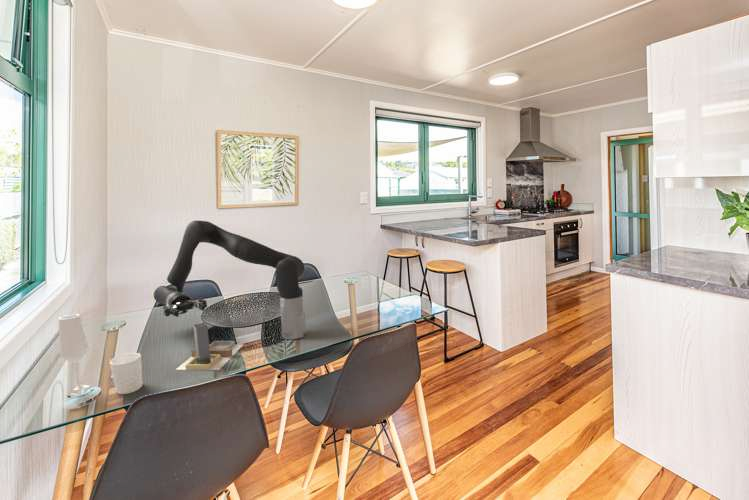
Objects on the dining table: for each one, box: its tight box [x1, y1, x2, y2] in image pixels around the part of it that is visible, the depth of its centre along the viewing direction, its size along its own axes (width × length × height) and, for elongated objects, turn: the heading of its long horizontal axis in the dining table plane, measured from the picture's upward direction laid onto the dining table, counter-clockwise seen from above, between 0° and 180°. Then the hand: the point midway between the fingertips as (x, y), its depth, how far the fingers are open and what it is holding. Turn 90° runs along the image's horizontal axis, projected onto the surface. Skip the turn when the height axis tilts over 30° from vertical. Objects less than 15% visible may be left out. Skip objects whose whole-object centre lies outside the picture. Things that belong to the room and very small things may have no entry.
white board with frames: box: [175, 340, 245, 371], centre depth 130 cm, size 20×15×4 cm
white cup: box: [109, 352, 143, 395], centre depth 110 cm, size 8×8×10 cm
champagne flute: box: [58, 313, 90, 390], centre depth 108 cm, size 7×7×24 cm
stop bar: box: [192, 322, 211, 364], centre depth 123 cm, size 4×4×14 cm
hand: (190, 311), depth 130 cm, fingers open, 8 cm apart
